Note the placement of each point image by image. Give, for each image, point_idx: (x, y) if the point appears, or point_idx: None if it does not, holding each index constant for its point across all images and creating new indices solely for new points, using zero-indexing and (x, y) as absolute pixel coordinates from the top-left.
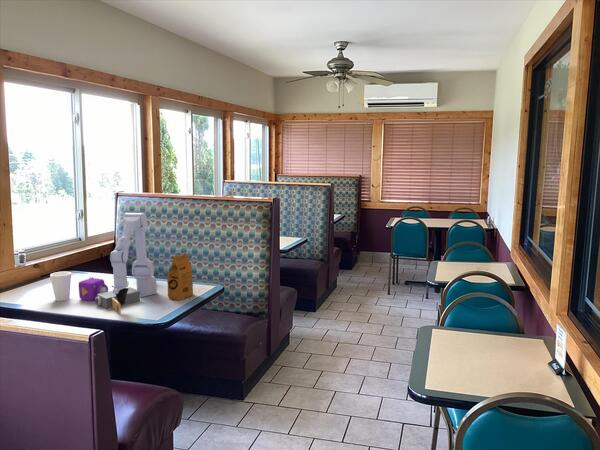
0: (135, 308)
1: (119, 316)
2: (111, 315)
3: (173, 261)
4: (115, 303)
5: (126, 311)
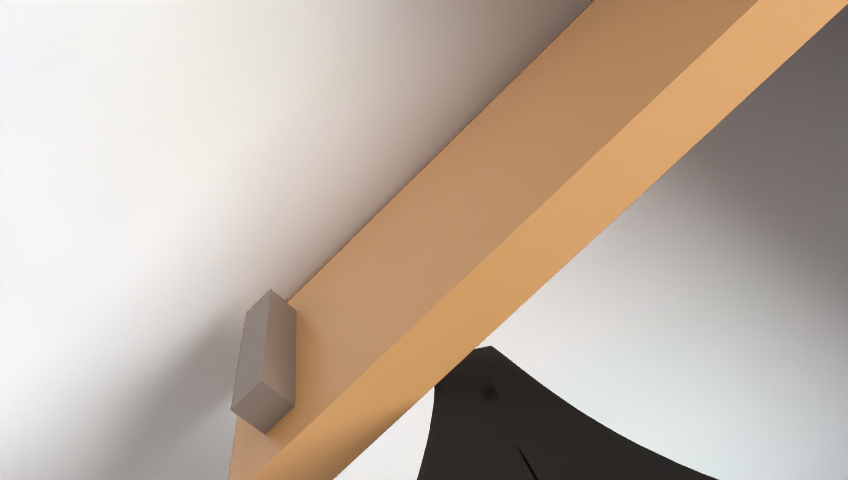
0: None
1: (92, 428)
2: (102, 213)
3: None
4: (487, 207)
5: None
